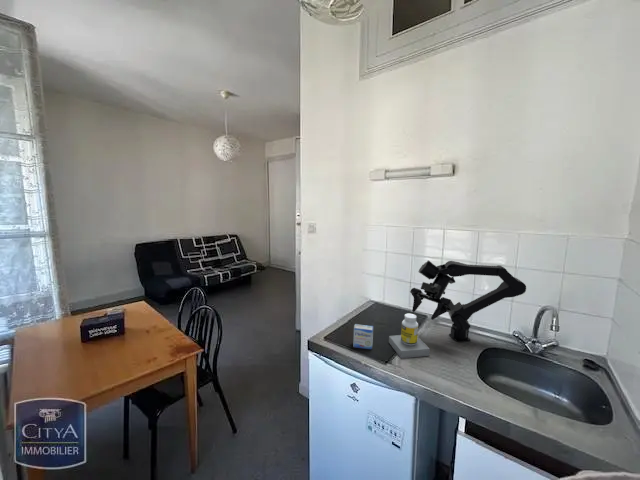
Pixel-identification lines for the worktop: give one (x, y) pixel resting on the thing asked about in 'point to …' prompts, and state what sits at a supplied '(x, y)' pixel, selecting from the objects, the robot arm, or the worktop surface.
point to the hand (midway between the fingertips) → (422, 315)
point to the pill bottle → (409, 329)
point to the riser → (408, 347)
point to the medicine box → (363, 336)
